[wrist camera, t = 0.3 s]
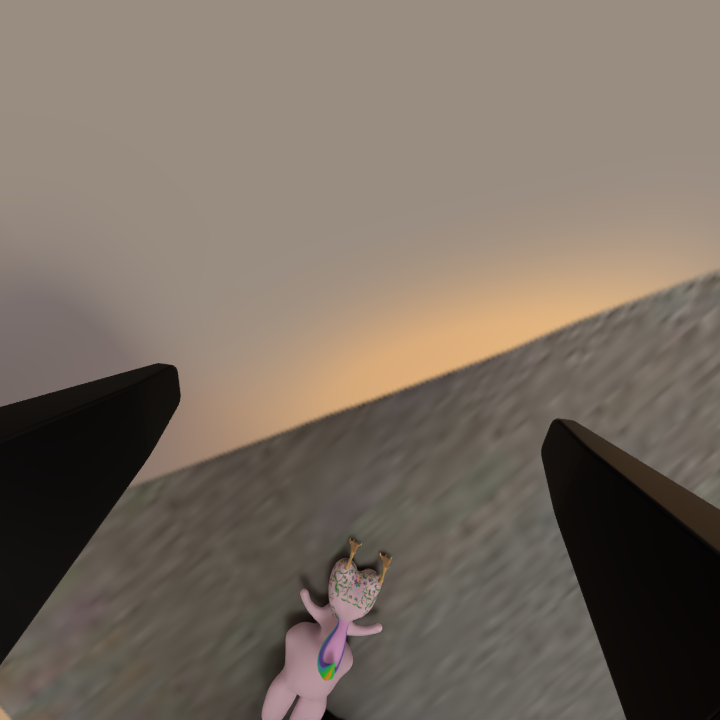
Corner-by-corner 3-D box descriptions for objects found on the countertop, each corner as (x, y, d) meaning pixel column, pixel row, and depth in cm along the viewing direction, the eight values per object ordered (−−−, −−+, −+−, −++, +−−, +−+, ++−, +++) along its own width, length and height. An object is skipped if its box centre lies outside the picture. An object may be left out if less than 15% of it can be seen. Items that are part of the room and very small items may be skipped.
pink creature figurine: (332, 516, 29) (243, 692, 29) (327, 563, 23) (216, 782, 23) (407, 552, 29) (318, 725, 29) (422, 607, 23) (310, 823, 23)
